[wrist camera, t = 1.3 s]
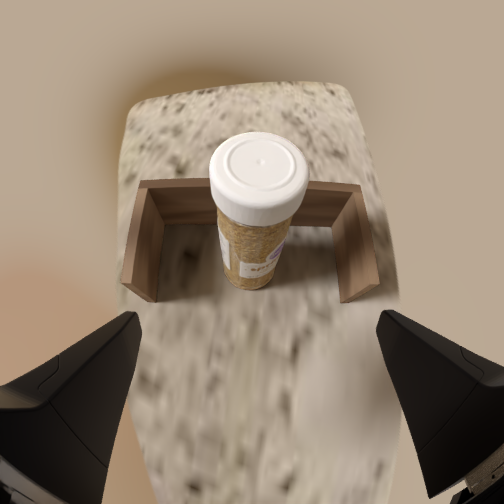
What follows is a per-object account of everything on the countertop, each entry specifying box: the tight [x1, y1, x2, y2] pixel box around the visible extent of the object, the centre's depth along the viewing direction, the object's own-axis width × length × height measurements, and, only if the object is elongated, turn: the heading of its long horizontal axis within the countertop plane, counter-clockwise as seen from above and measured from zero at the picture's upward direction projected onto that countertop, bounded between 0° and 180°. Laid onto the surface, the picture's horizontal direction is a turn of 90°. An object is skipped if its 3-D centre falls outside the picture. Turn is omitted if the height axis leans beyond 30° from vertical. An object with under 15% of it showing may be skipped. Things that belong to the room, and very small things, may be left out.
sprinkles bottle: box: [209, 132, 310, 290], centre depth 18 cm, size 5×5×14 cm
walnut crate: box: [121, 178, 380, 303], centre depth 21 cm, size 8×18×6 cm, turn 90°
